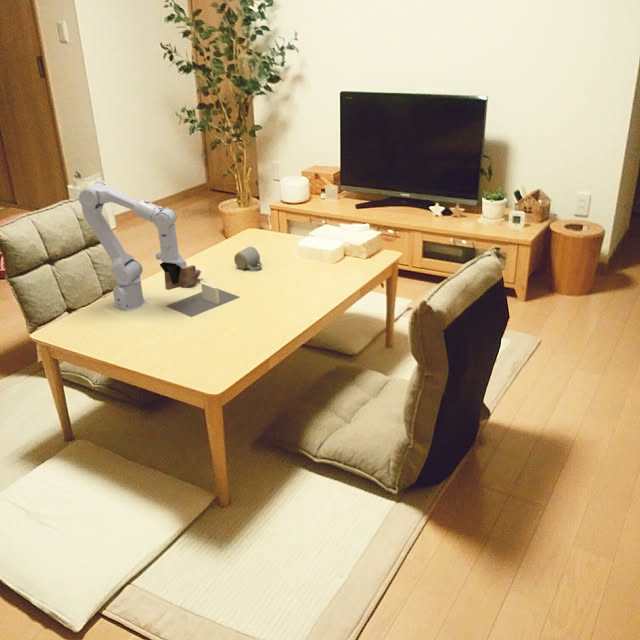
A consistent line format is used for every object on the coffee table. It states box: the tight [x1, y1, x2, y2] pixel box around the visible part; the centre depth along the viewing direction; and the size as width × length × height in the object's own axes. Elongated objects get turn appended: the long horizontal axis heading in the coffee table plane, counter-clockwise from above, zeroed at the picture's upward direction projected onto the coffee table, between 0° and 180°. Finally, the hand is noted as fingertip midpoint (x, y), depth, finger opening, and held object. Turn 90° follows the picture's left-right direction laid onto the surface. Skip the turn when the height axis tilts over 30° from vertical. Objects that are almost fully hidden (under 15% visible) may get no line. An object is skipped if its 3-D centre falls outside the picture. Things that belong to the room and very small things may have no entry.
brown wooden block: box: [163, 264, 197, 291], centre depth 232 cm, size 12×2×6 cm, turn 138°
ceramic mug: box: [233, 246, 263, 272], centre depth 267 cm, size 11×8×8 cm
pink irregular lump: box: [180, 269, 202, 289], centre depth 253 cm, size 10×5×7 cm, turn 169°
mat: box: [165, 288, 241, 318], centre depth 237 cm, size 22×15×1 cm
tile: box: [200, 282, 220, 304], centre depth 236 cm, size 1×8×6 cm, turn 48°
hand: (173, 282), depth 230 cm, fingers closed on brown wooden block, 1 cm apart
